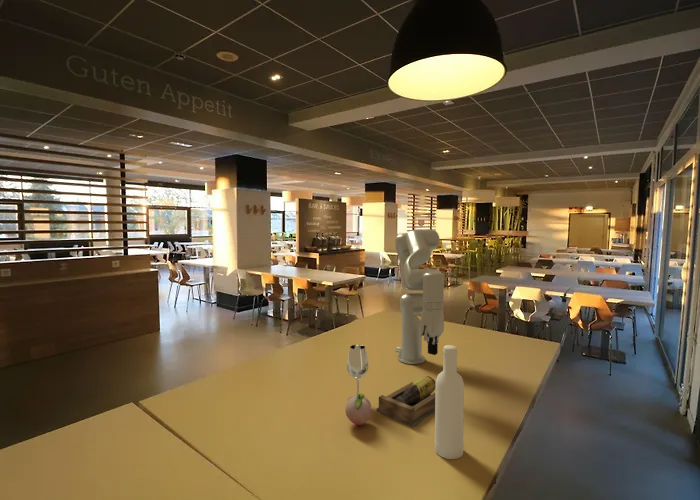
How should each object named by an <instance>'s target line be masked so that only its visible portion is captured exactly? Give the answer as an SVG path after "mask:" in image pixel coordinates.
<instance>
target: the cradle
mask: <svg viewBox="0 0 700 500" xmlns="http://www.w3.org/2000/svg"><path fill="white" fill-rule="evenodd" d="M413 383H414V382H410V383H408V384H406V385H404V386H403V387H400V388H398V389H397V390H395V391H392V392H391V393H389V394H388V395H383V394H382V395H380V396H378V407H376V408H375V409H376V412H378V413H381V414H384V415H385V416H388V417H390V418H392V419H395V420H397V421H400V422H401V423H404V424H406V425H408V426H411V427H413V428H414V427H415V426H417V425H418V424H419V423H421V422H422V421H424V420H425V419H427V418H428V417H429V416H430V415H432V414H434V413H435V392H433V393H431V394H430V395H428V396H427V397H426V398H424V399H423V400H421V401H420V402H419V403H413V404H409V405H407V404H404V403H402V402H399V401H396V399H397V398H398V397H399V396H402V395H403V394H404V391H405V389H406V388H407V387H409V386H410V385H412V384H413Z"/></svg>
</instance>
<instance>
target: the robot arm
mask: <svg viewBox="0 0 700 500" xmlns="http://www.w3.org/2000/svg"><path fill="white" fill-rule="evenodd" d="M440 241H441V239H440V236H439V233H438V232H437V231H436V230H435V229H413V230H410V231H409V232H407V233H404V232H403V233H400V234H398V235H397V236H395V240H394V246H395V251H396V254H397V257H398V259H399V264H400V279H401V285H402V288H403V290H405V291H410V292H411V291H417V292H418V293H417V292H416V293H415V292H414V293H413V292H412V293H405V294H402V295H401V296H400V298H399V308H400V317H401V319H400V320H401V347H400V346H396V348H395V350H394V351H395V353H398V356H397V360H398V361H399V362H401V363H403V364H407V365H408V364H409V365H418V364H419V365H420V364H423V363H424V362H425V361H426V357H425V356H424V355H423V354H422V353H423V351H422V350H423V348H422V347H423V346H422V345H423V341H425V342H426V344H427V354H429V355H433V356H436V355H438V353H439V351H438V348H439V347H438V344H439V338H440V337H441V336H442V334H443V333H444V329H445V315H444V301H445V299H444V297H445V292H444V291H445V288H444V287H445V285H444V284H445V276H444V274H443V273H442V272H441V271H440V270H439V269H435V268H434V269H433V268H422V269H421V268H419V266H422V265H423V264H425V263H427V262H428V261H430V259H431V255H432V252H431V251H434V250H436V249H438V248H439V246H440ZM419 291H421V292H422V293H419ZM417 315H421V316H420V318H419V316H417Z"/></svg>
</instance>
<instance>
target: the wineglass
mask: <svg viewBox="0 0 700 500" xmlns="http://www.w3.org/2000/svg"><path fill="white" fill-rule="evenodd" d="M367 353H368V352H367V349H366V346H365V345H363V344H351V346H349V351H348V355H347V360H346V369H347V373H348V374H349V375H350V376H351V377H352V378H354V379H356V395H351V396H350V397H348V398H347V402H348V401H349V399H351V398H352V397H355V396H357V395H358V394H360V391H359V389H360V388H359V387H360V385H359V384H360V379H361V378H364V377H365V376H366V375H367V373H368V371H369V358H368V354H367Z"/></svg>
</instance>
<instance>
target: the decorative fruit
mask: <svg viewBox="0 0 700 500" xmlns="http://www.w3.org/2000/svg"><path fill="white" fill-rule="evenodd" d="M356 395H357V394H356ZM356 395H354V396H355V397H352V398H351V399H349V401H347V402H346V405H345V415H346V418H347V419H348V420H349V421H350V422H351V423H353V424H354V425H356V426H363V425H364V424H366V423H368V421H369V420H370V418H371V415H372V403H371V401H370V400H369V399H368V397H366V396H365V394H363V393H360V392H359V394H358V395H357V396H356Z"/></svg>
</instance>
